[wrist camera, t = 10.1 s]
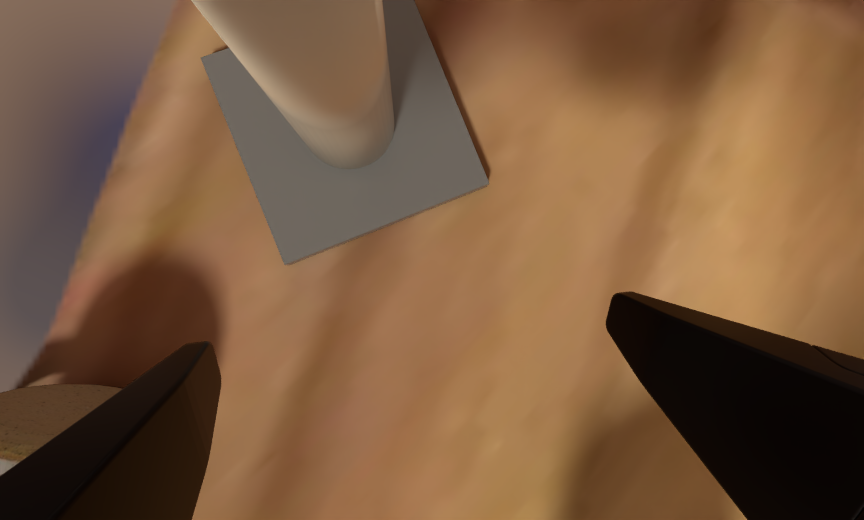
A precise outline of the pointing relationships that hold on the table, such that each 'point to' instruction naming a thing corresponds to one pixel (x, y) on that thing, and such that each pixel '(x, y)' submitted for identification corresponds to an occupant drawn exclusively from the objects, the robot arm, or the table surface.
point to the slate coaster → (363, 187)
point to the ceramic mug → (43, 416)
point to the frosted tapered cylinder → (317, 69)
